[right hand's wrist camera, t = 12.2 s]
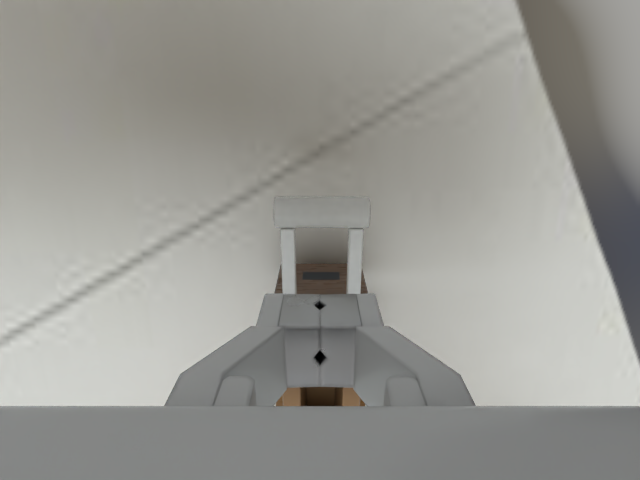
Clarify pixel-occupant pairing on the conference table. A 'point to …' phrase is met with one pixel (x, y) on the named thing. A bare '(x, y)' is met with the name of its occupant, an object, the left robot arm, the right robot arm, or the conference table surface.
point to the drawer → (321, 270)
